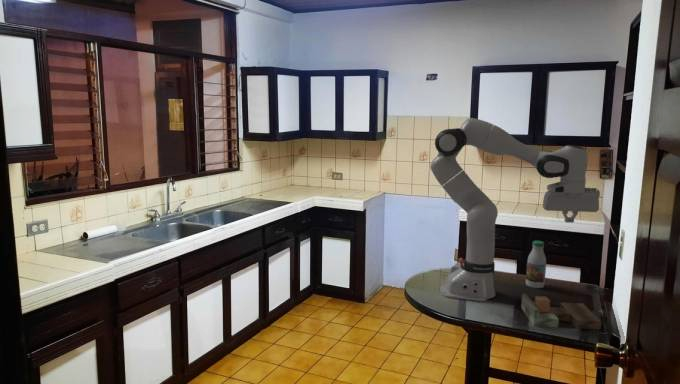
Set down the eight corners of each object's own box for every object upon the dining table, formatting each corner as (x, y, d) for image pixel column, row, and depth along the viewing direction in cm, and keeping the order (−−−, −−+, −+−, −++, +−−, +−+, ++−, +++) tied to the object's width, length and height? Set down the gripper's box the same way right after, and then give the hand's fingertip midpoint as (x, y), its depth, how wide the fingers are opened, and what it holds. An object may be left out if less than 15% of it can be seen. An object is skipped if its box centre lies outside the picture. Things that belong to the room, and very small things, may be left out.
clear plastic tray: (533, 326, 173) (534, 310, 172) (521, 308, 189) (522, 293, 188) (600, 329, 171) (602, 313, 170) (582, 310, 187) (583, 296, 186)
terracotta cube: (537, 311, 178) (538, 300, 177) (534, 307, 182) (535, 296, 181) (549, 312, 178) (550, 300, 177) (545, 307, 182) (546, 296, 181)
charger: (478, 270, 233) (470, 279, 220) (459, 267, 238) (450, 276, 225) (479, 260, 232) (471, 269, 219) (460, 257, 237) (451, 266, 224)
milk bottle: (528, 281, 218) (531, 238, 215) (546, 285, 214) (550, 241, 211) (523, 286, 212) (526, 242, 209) (541, 290, 208) (545, 245, 204)
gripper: (596, 186, 189) (593, 221, 192) (542, 185, 191) (540, 219, 193) (603, 189, 183) (600, 224, 185) (548, 188, 185) (545, 223, 187)
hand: (569, 222), depth 189 cm, fingers closed
